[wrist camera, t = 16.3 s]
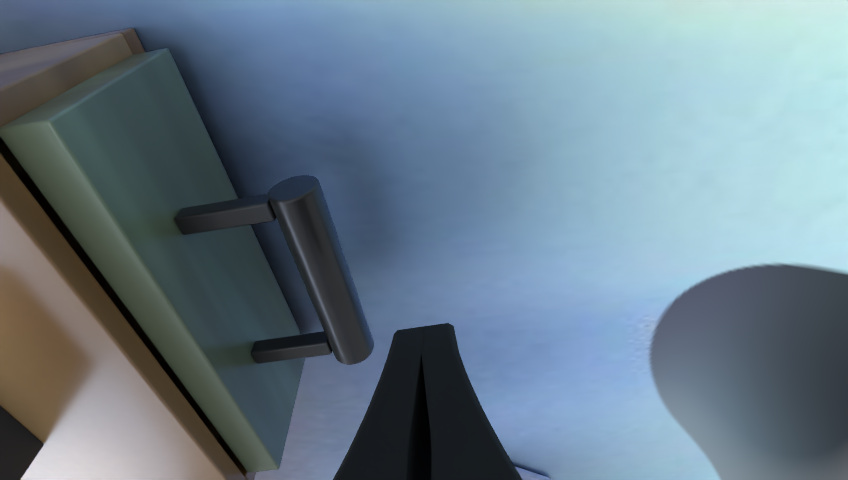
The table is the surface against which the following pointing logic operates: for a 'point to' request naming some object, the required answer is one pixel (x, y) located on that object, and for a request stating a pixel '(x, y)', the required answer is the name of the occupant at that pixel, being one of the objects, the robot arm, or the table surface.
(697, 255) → the table surface
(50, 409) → the cabinet
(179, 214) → the drawer
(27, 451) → the remote
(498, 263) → the table surface
